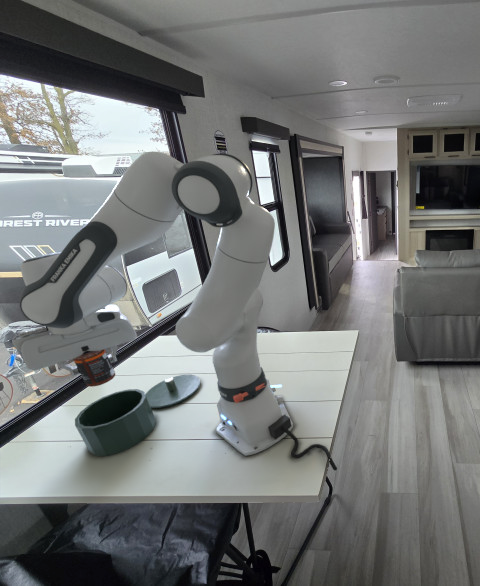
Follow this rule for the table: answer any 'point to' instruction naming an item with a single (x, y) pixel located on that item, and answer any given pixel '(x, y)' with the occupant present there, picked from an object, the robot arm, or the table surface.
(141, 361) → the table surface
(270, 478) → the table surface
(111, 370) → the supplement bottle
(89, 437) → the waste tin
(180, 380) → the tin lid
